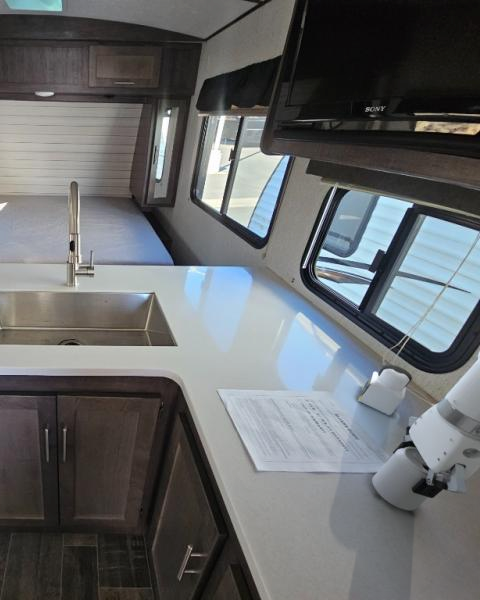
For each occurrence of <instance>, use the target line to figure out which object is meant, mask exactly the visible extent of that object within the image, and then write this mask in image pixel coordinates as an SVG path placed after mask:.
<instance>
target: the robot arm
mask: <svg viewBox="0 0 480 600" xmlns="http://www.w3.org/2000/svg"><path fill="white" fill-rule="evenodd" d="M406 447H415V448H417V449H418V451H419V453H420V454H421V456H422V458H423V459H424V461H425V462H426V464H427V465H428V467H429V472H428V475H427V479H426V478H422V479H421V480H420V481H419V482H418V483H417V484H416V485H415V486H413V487H412V491H413V493H416V494H419V495H423V496H426V497H429V498H428V499H434V498H435V497H436V496H438V494H440V493H441V492H442V491H443V490H444V491H447V492H451V493H456V494H462V495H465V494H466V493H467V485H466V481H467V480H468V479H469V478H470V477H472V476H473V475H474V474H475V473H476V472H477V471H478V470H479V468H480V350H479V351H478V354H477V360H475V362H474V363H473V364H472V365H471V367H470V368H469V369H468V370H467V371H466V372H465V374H463V376H462V377H461V378H460V379H459V380H458V381H457V382H456V383H455V385H454V386H452V387H451V389H450V390H449V391H448V392H447V393H446V394H445V395H444V397H443V398H442V399H441V400H440V401H439V402H437V403H436V404H434V405H433V406H431V407H430V408H428V409H427V410H426V411H425V412H424V413H422V414H421V415H420V416H419V417H415V416H409V417H408V423H407V427H406V428H405V435H403V436H402V441H401V442H400V443H399V445H398V446H397V447H396V448H395V450H394V451H392V455H393V454H394V453H395V452H396V451H397V450H398V449H401V448H406ZM438 473H439V474H442V475H443V479H442V481H439V480H436V478H437V474H438Z"/></svg>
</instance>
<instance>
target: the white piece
mask: <svg viewBox="0 0 480 600" xmlns="http://www.w3.org/2000/svg"><path fill="white" fill-rule="evenodd" d="M412 380H413V375H412V374H411V373H410V372H409V371H407V370H406V369H404V368H403V367H401V366H398V365H395V364H384V365H383V366H382V367H381V368H380V370H378V372H377V371H373V372H372V373H371V375H370V376H369V378H368V380H367V381H366V382H365V384H364V385H363V387H362V388H361V391H360V394H359V398H358V402H360V403H363V404H364V405H367V406H369V407H370V408H372V409H375V410H376V411H379V412H381V413H383V414H385V415H388V416H391V415H392V414H394V412H395V411H396V410H397V408H398V407H399V405H400V404H401V403H402V402H403V401H404V400H405V396H406V392H407V391H406V390H407V386H408V385H409V384H410V382H411V381H412Z"/></svg>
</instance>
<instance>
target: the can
mask: <svg viewBox="0 0 480 600" xmlns="http://www.w3.org/2000/svg"><path fill="white" fill-rule="evenodd" d="M428 472H429V467H428V465H427V464H426V462H425V461H424V459H423V458H422V456H421V454H420V453H419V451H418V449H417V448H415V447H406V448H401V449H398V450H397V451H396V452H395V453H394V454H393V453H392V455H391V457H390V458H389V459H388V460H387V461H386V462H385V463H384V464H383V465H382V466H381V467H380V469H379V470H377V472H376V473H375V474H374V475H373V477H372V478H371V479H372V480H371V482H372V485H373V488H374V489H375V491H376V492H377V493H378V495H380V496H381V498H383V499H384V500H385V501H386V502H387V503H389V504H391V505H392V506H394V507H396V508H398V509H401V510H404V511H414V510H417V508H419V507H420V506H421V505H422V504H424V502H426V500H427V499H430V498H429V497H426V496H423V495H419V494H416V493H413V491H412V487H413V486H415V485H416V484H417V483H418V482H419V481H420V480H421V479H422V478H426V479H427V475H428ZM442 479H443V475H442V474H439V473H438V474H437V478H436V480H439V481H442Z"/></svg>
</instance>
